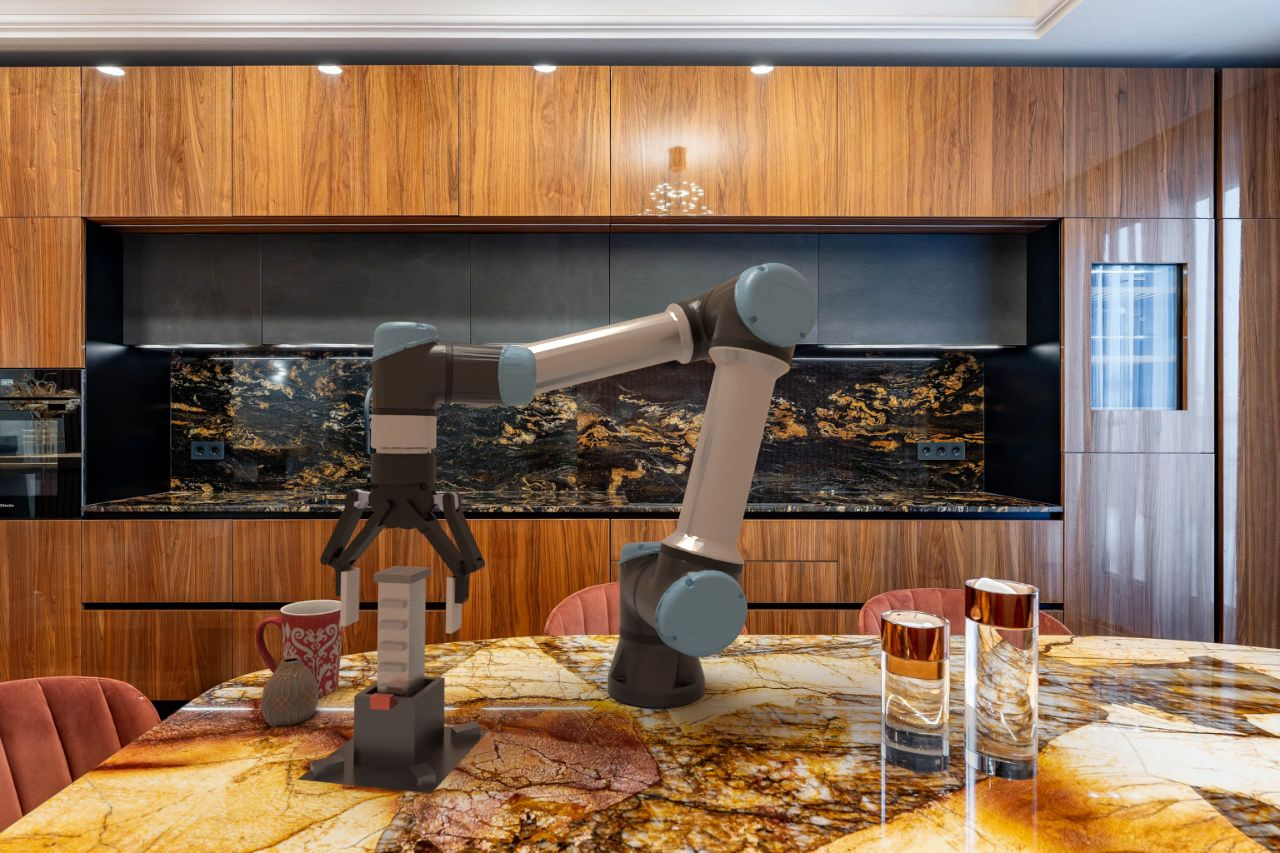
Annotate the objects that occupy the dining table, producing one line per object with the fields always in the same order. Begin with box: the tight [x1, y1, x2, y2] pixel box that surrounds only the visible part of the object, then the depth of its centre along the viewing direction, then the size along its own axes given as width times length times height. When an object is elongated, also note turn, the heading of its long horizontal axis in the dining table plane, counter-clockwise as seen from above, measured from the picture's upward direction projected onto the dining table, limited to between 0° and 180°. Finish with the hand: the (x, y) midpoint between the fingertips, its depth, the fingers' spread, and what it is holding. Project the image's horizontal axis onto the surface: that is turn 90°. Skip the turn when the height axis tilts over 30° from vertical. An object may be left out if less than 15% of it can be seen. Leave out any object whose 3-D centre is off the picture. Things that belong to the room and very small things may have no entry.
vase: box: [261, 657, 319, 728], centre depth 94 cm, size 7×7×9 cm
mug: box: [255, 599, 344, 701], centre depth 104 cm, size 13×9×14 cm
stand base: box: [297, 675, 489, 794], centre depth 84 cm, size 16×16×10 cm
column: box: [373, 565, 431, 698], centre depth 83 cm, size 5×5×22 cm
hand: (400, 627), depth 84 cm, fingers open, 13 cm apart
